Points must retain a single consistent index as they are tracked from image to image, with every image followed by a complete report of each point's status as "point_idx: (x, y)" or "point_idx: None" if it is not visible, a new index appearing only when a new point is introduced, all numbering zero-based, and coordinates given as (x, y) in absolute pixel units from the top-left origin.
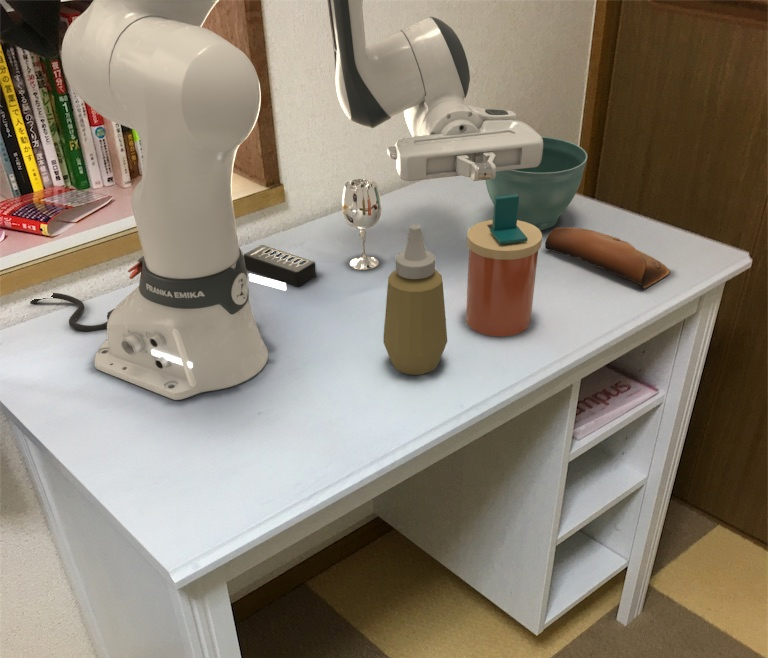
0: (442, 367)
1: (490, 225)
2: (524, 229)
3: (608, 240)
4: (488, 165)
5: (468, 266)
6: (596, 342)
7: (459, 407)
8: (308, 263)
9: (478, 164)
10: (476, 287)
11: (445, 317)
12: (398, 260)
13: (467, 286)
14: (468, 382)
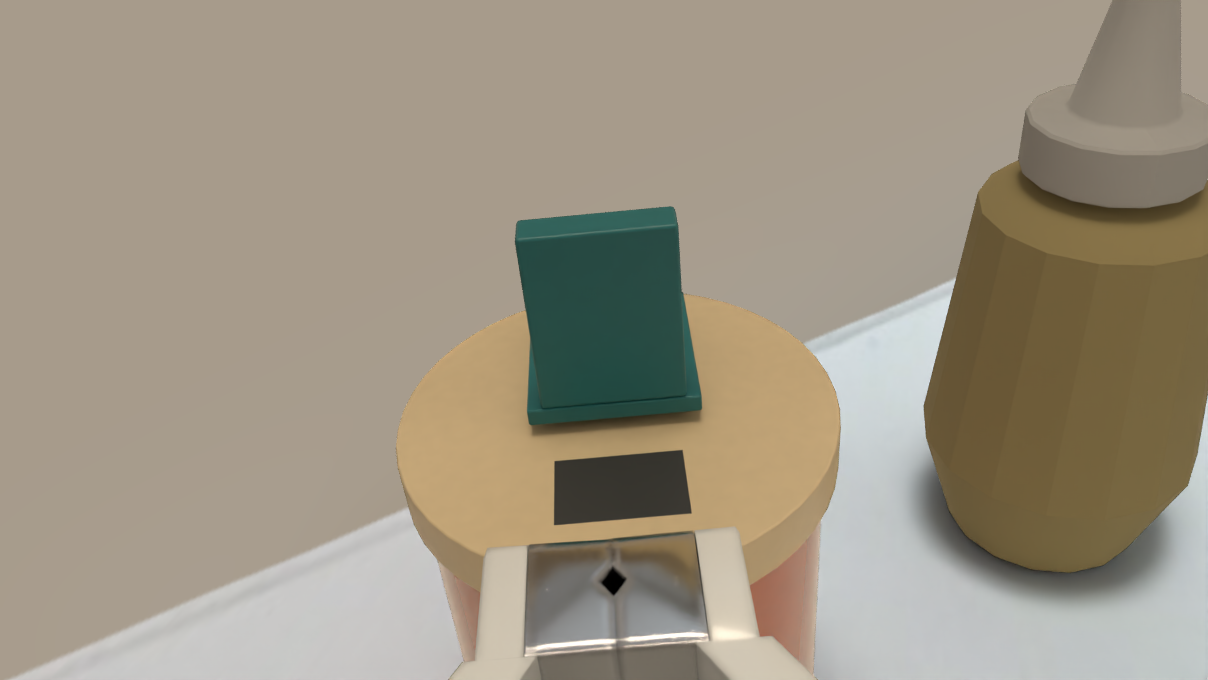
0: (929, 486)
1: (669, 500)
2: (480, 438)
3: None
4: (561, 559)
5: (818, 567)
6: (338, 544)
7: (878, 341)
8: None
9: (670, 597)
10: None
11: (943, 328)
12: (1198, 100)
13: (814, 650)
14: (842, 417)
